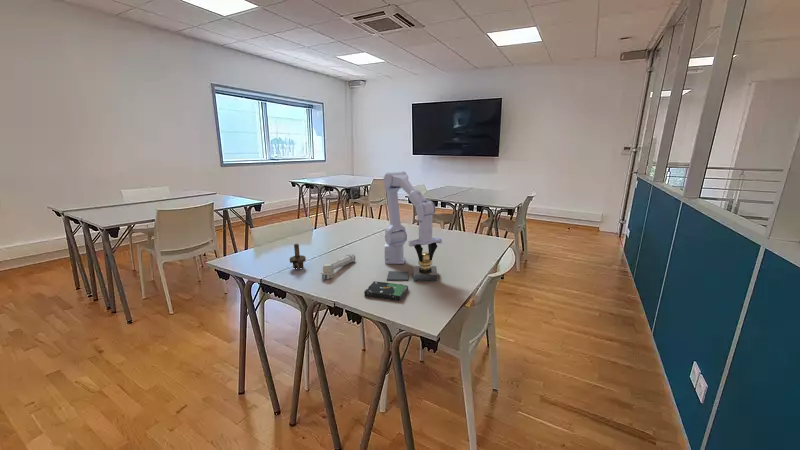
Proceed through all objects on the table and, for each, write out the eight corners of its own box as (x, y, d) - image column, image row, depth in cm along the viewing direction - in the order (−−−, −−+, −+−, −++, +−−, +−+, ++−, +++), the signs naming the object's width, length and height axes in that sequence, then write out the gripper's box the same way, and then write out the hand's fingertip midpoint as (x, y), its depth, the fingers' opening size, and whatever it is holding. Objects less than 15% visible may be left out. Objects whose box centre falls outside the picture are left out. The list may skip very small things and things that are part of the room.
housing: (413, 281, 138) (413, 274, 137) (414, 272, 147) (414, 266, 146) (437, 281, 137) (437, 274, 136) (436, 272, 147) (436, 266, 146)
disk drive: (364, 298, 124) (401, 302, 120) (363, 291, 124) (400, 295, 119) (374, 287, 134) (408, 290, 130) (373, 280, 133) (408, 284, 129)
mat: (386, 280, 139) (386, 279, 139) (388, 272, 147) (388, 271, 147) (407, 280, 138) (407, 279, 138) (408, 272, 147) (408, 271, 147)
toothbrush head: (356, 254, 161) (328, 264, 138) (356, 267, 162) (328, 280, 139) (347, 253, 163) (318, 263, 140) (347, 266, 164) (318, 278, 141)
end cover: (421, 273, 138) (421, 256, 136) (416, 268, 143) (416, 252, 141) (434, 271, 139) (434, 255, 138) (429, 266, 145) (429, 251, 143)
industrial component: (301, 271, 150) (299, 247, 147) (287, 271, 151) (284, 246, 148) (310, 264, 159) (308, 241, 156) (297, 263, 160) (294, 240, 157)
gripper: (412, 234, 131) (412, 265, 134) (445, 230, 135) (444, 261, 139) (406, 229, 138) (407, 259, 141) (438, 226, 142) (437, 256, 145)
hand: (425, 260), depth 140 cm, fingers closed on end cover, 4 cm apart
